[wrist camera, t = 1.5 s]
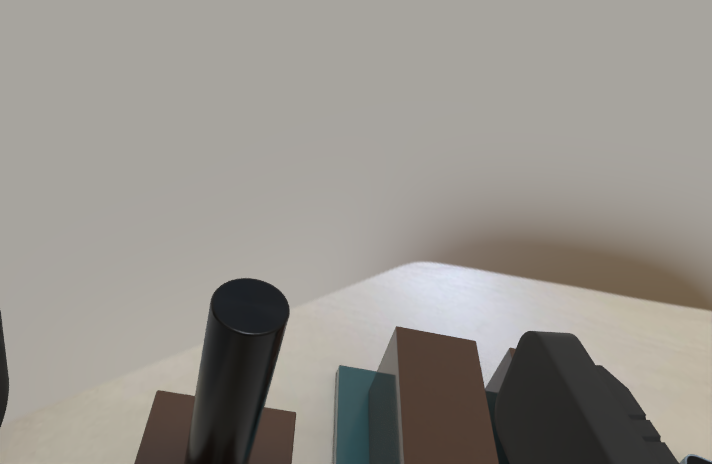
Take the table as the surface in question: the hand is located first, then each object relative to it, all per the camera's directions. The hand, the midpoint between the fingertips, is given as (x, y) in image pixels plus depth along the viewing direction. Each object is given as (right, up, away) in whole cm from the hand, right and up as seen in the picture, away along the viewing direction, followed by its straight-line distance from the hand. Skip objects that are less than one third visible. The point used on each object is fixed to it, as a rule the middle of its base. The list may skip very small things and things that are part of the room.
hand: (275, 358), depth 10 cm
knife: (-8, -17, +24) cm, 31 cm away
